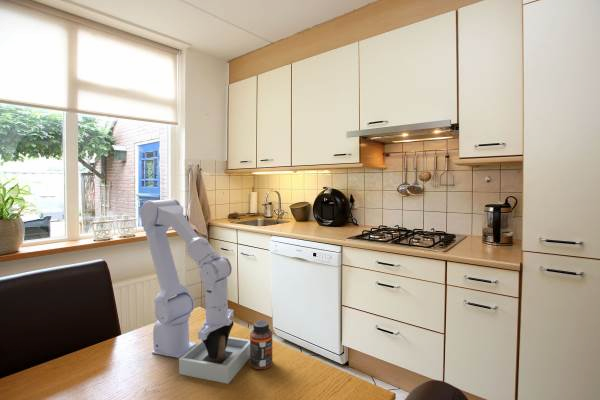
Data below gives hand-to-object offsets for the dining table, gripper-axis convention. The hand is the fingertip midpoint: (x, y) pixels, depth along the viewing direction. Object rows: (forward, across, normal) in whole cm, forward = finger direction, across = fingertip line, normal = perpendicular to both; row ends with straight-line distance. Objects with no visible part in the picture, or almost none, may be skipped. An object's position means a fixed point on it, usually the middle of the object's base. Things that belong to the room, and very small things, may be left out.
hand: (217, 353), depth 87 cm
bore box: (+3, 0, 0) cm, 3 cm away
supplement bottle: (+3, +3, -11) cm, 12 cm away
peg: (+2, 0, 0) cm, 2 cm away
